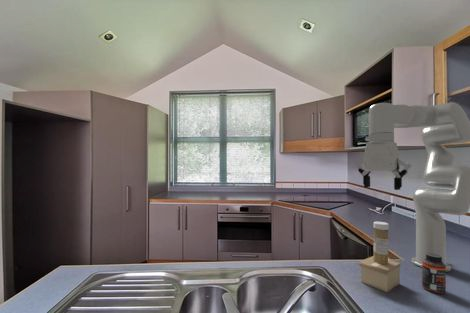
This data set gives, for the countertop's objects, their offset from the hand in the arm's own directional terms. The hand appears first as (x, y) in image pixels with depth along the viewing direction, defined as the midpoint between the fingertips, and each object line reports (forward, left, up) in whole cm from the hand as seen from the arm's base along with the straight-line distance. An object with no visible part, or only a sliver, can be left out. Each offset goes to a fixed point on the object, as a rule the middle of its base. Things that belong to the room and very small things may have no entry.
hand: (381, 188), depth 84 cm
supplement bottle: (-10, +12, -33) cm, 36 cm away
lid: (+1, 0, -26) cm, 27 cm away
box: (0, 0, -32) cm, 32 cm away
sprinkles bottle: (0, 0, -26) cm, 26 cm away
